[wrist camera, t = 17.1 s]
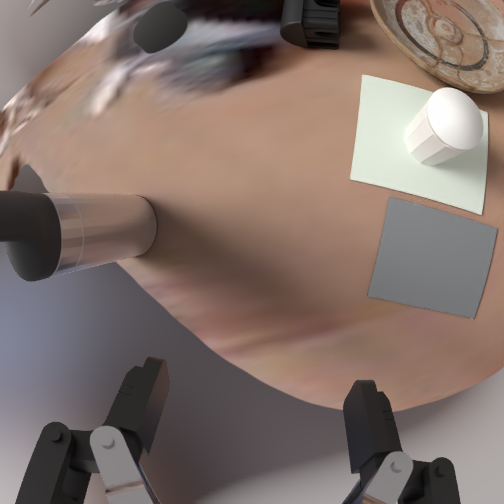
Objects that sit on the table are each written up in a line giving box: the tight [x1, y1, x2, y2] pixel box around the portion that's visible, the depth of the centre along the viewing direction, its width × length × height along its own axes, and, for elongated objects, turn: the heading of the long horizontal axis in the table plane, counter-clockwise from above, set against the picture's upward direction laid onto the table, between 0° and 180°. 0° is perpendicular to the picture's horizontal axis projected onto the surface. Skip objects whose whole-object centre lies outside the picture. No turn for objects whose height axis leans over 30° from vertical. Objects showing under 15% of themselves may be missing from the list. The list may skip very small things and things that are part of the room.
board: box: [350, 75, 488, 215], centre depth 28 cm, size 18×14×1 cm
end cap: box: [280, 0, 340, 50], centre depth 27 cm, size 10×7×7 cm
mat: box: [367, 197, 497, 319], centre depth 30 cm, size 16×12×1 cm
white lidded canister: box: [405, 88, 484, 166], centre depth 23 cm, size 6×6×10 cm
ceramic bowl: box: [370, 0, 504, 94], centre depth 22 cm, size 23×24×5 cm
